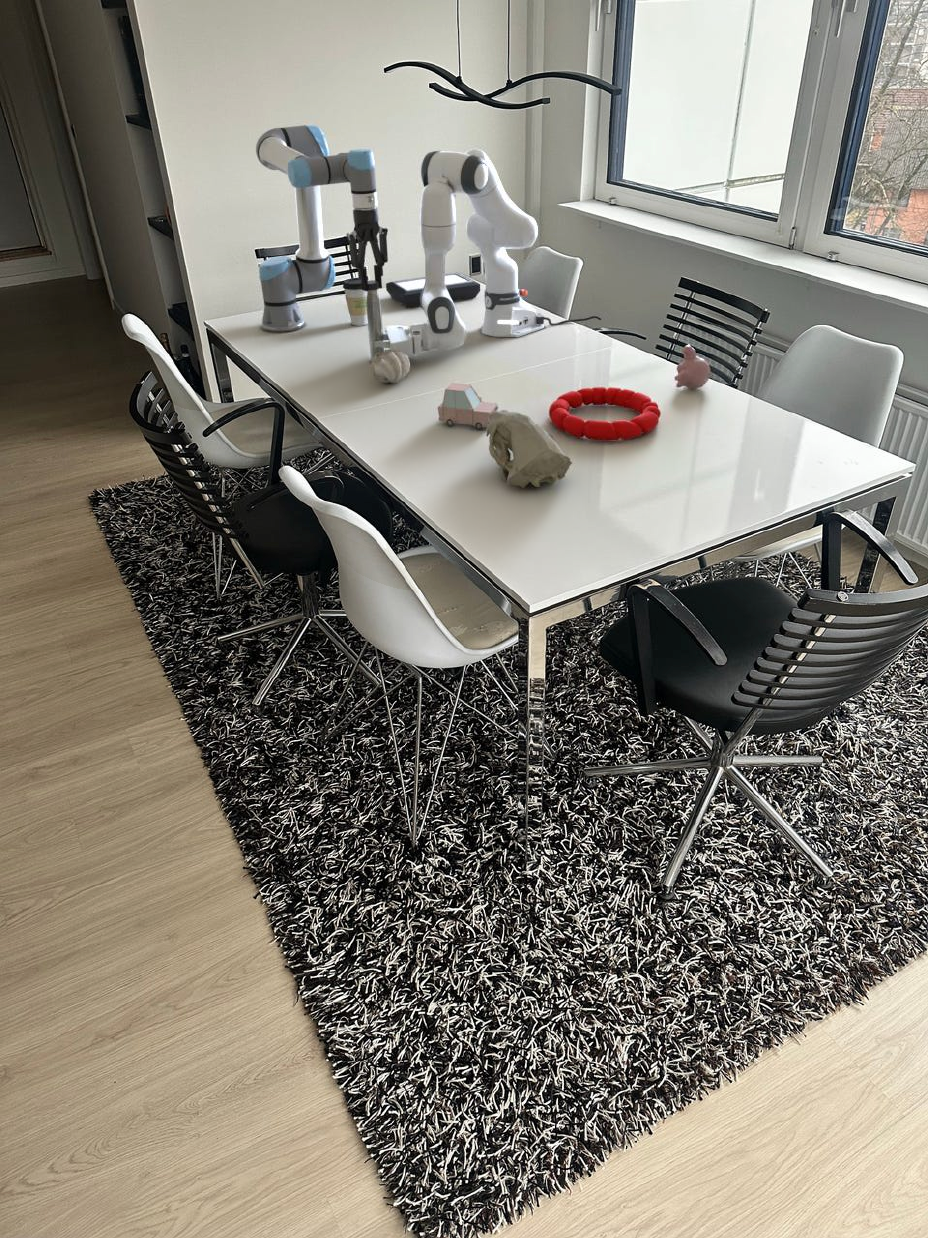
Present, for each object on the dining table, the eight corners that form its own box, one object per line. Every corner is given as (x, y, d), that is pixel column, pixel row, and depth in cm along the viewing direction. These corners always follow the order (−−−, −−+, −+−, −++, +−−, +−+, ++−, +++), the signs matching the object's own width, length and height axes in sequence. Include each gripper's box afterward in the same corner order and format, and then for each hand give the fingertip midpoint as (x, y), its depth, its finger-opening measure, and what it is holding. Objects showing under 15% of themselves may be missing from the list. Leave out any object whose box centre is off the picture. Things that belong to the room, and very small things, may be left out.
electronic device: (403, 292, 336) (385, 281, 351) (404, 309, 340) (386, 297, 355) (480, 281, 346) (459, 270, 361) (480, 298, 350) (459, 286, 365)
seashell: (364, 381, 275) (361, 349, 270) (407, 372, 281) (405, 341, 275) (377, 391, 268) (374, 358, 262) (421, 382, 273) (420, 349, 268)
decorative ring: (589, 435, 224) (684, 402, 234) (527, 398, 247) (617, 369, 256) (589, 461, 229) (683, 427, 238) (529, 422, 251) (617, 393, 260)
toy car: (488, 432, 240) (488, 396, 234) (436, 426, 244) (434, 390, 239) (499, 419, 247) (499, 384, 241) (448, 413, 252) (447, 379, 246)
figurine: (665, 387, 264) (669, 347, 257) (693, 380, 268) (698, 340, 261) (686, 396, 257) (690, 355, 250) (714, 388, 262) (720, 348, 255)
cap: (362, 290, 277) (362, 283, 276) (367, 286, 281) (366, 279, 280) (376, 290, 276) (376, 284, 275) (380, 286, 280) (380, 280, 279)
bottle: (385, 362, 290) (379, 285, 276) (372, 364, 289) (365, 286, 275) (383, 358, 294) (377, 281, 280) (370, 359, 293) (363, 282, 279)
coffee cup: (372, 326, 323) (368, 283, 314) (345, 327, 323) (340, 284, 315) (374, 318, 331) (371, 276, 322) (348, 319, 331) (344, 277, 323)
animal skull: (496, 517, 219) (521, 479, 201) (463, 429, 225) (484, 384, 207) (557, 503, 225) (586, 465, 206) (523, 417, 231) (549, 373, 212)
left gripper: (346, 213, 259) (354, 296, 272) (396, 205, 267) (401, 286, 280) (333, 210, 264) (341, 291, 277) (383, 202, 272) (389, 281, 285)
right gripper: (411, 319, 296) (370, 322, 294) (419, 337, 279) (375, 340, 278) (412, 338, 300) (371, 341, 298) (420, 357, 283) (377, 360, 281)
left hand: (371, 288), depth 278 cm, fingers closed on cap, 4 cm apart
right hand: (373, 341), depth 288 cm, fingers closed on bottle, 4 cm apart
